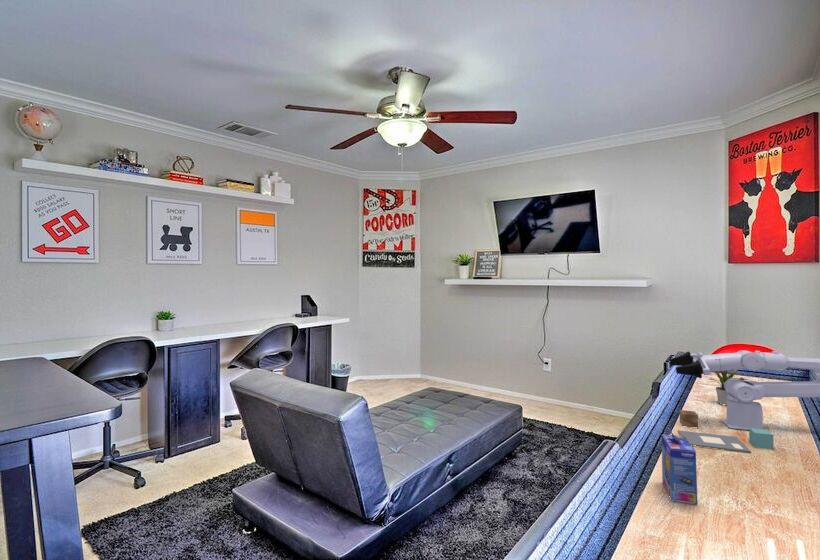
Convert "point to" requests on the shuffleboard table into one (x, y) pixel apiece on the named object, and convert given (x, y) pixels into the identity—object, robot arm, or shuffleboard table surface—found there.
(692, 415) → the walnut block
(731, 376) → the house plant
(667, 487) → the ink cartridge box
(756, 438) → the teal block
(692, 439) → the board
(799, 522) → the shuffleboard table surface
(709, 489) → the shuffleboard table surface
